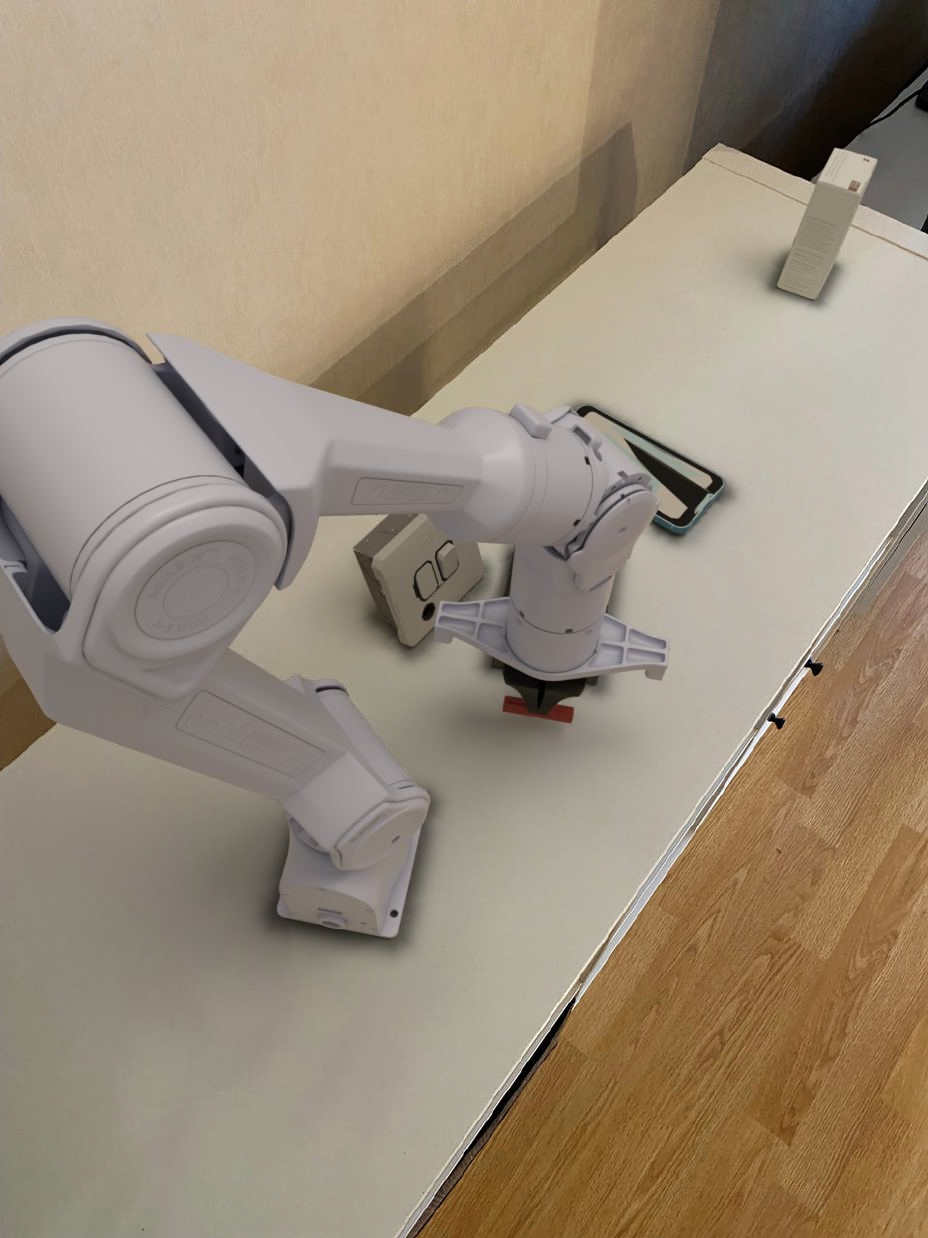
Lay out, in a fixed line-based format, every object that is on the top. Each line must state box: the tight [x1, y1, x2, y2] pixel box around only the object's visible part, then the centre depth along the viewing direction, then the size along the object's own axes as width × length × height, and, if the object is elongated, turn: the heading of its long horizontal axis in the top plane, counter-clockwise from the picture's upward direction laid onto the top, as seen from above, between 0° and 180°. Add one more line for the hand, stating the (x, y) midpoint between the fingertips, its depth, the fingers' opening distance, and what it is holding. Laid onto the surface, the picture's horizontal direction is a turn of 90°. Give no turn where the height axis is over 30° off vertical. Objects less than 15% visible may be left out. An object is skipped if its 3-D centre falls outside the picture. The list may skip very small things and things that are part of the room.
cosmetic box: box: [776, 147, 878, 300], centre depth 92 cm, size 6×4×12 cm
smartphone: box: [573, 403, 726, 534], centre depth 83 cm, size 7×1×15 cm
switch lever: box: [501, 694, 575, 725], centre depth 70 cm, size 12×5×2 cm, turn 169°
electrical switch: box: [352, 514, 485, 647], centre depth 72 cm, size 9×5×9 cm, turn 141°
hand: (539, 701), depth 67 cm, fingers closed
